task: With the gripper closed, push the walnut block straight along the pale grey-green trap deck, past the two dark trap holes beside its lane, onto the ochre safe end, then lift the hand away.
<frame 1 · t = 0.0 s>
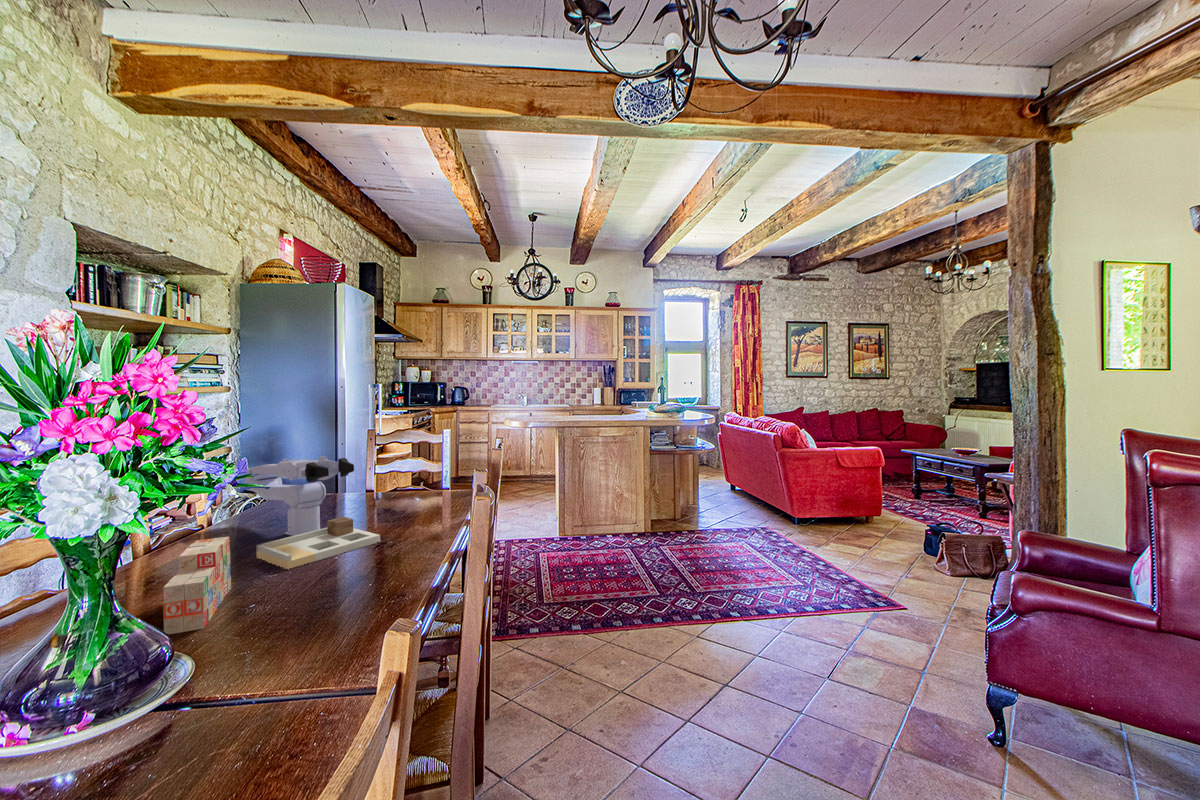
hand: (340, 469, 147), 22 cm above the table, tool horizontal, fingers open, 7 cm apart
walnut block: (340, 533, 151), point 2 cm above the table, touching trap deck
trap deck: (321, 549, 142), on the table
stack of blocks: (201, 610, 105), on the table
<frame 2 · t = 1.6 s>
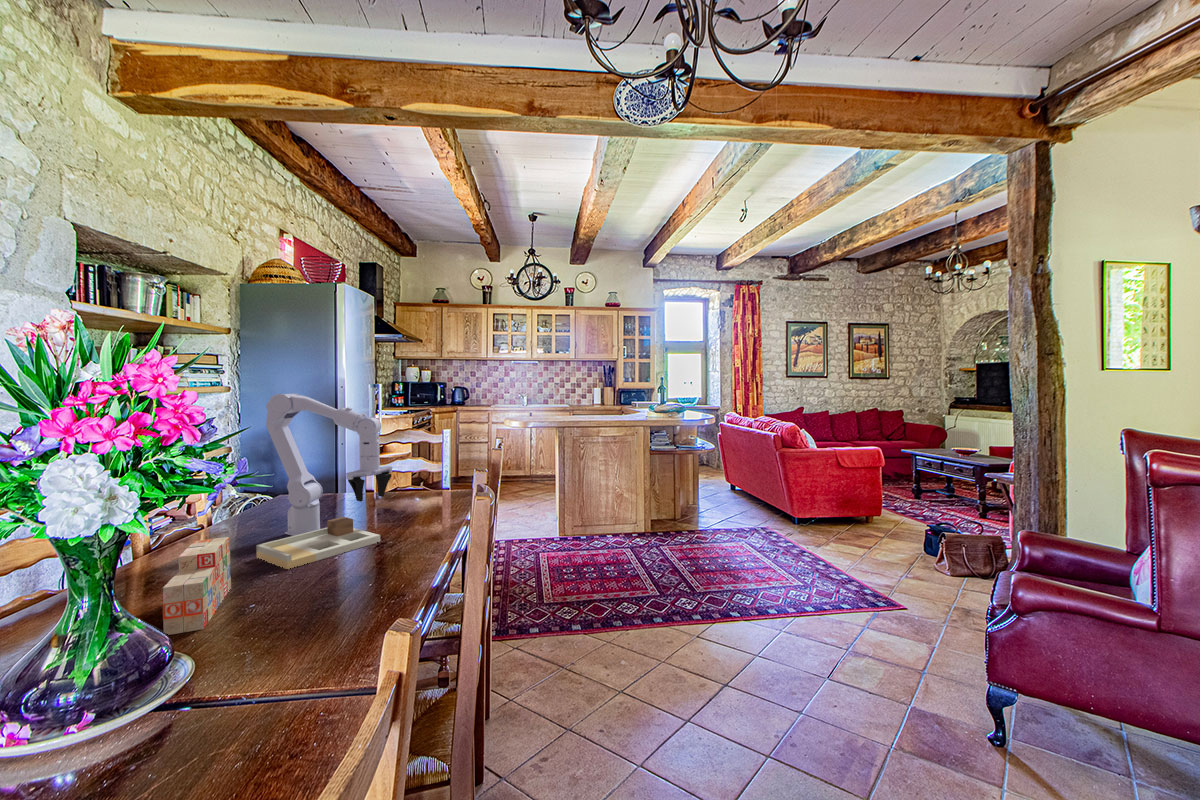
hand: (370, 498, 159), 10 cm above the table, tool pointing down, fingers open, 7 cm apart
nothing on the table moved.
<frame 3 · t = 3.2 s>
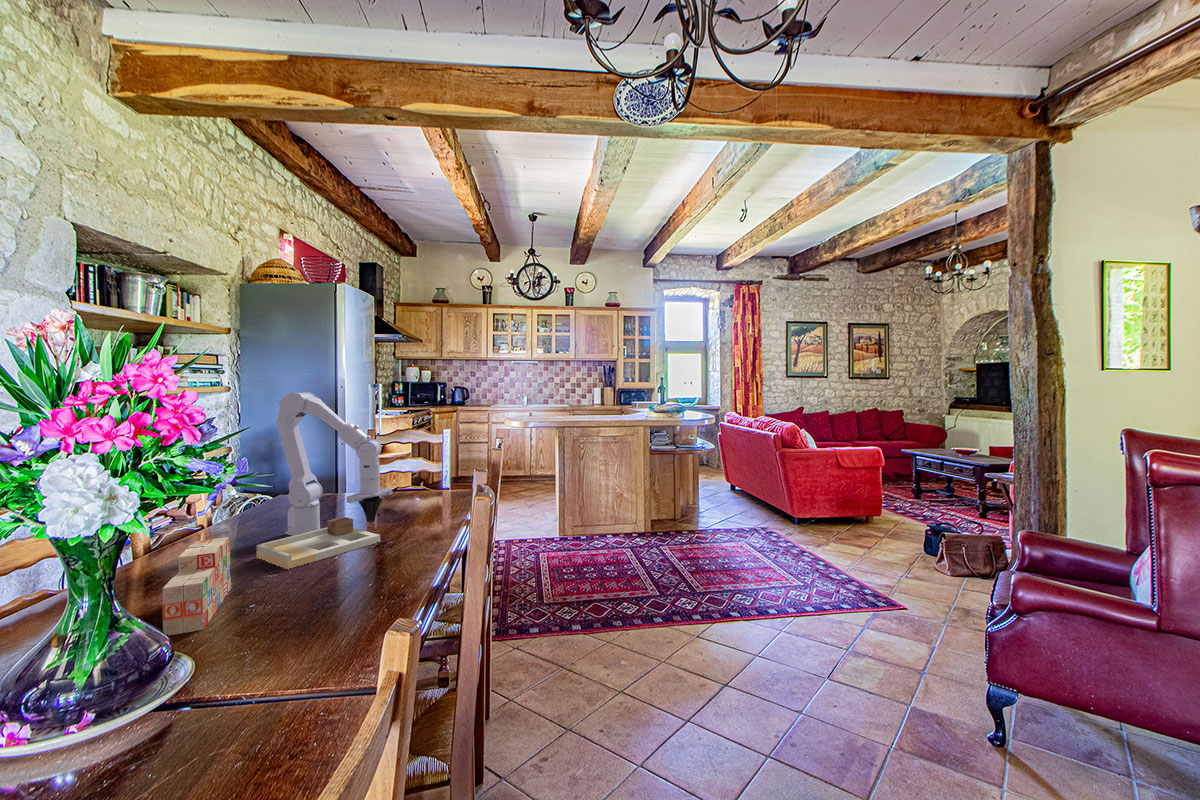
hand: (370, 521, 159), 3 cm above the table, tool pointing down, fingers closed
nothing on the table moved.
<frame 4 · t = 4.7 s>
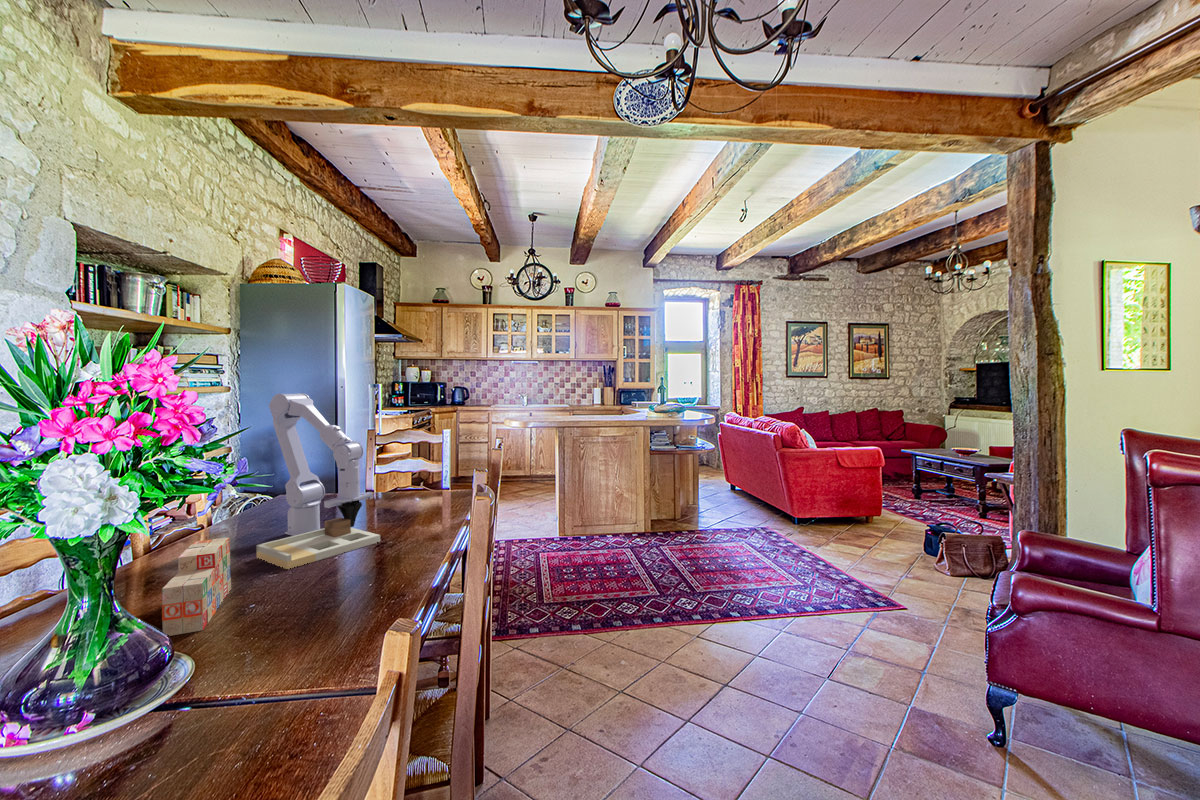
hand: (350, 526, 154), 3 cm above the table, tool pointing down, fingers closed
walnut block: (337, 533, 150), point 2 cm above the table, touching gripper, trap deck
everything else where it was.
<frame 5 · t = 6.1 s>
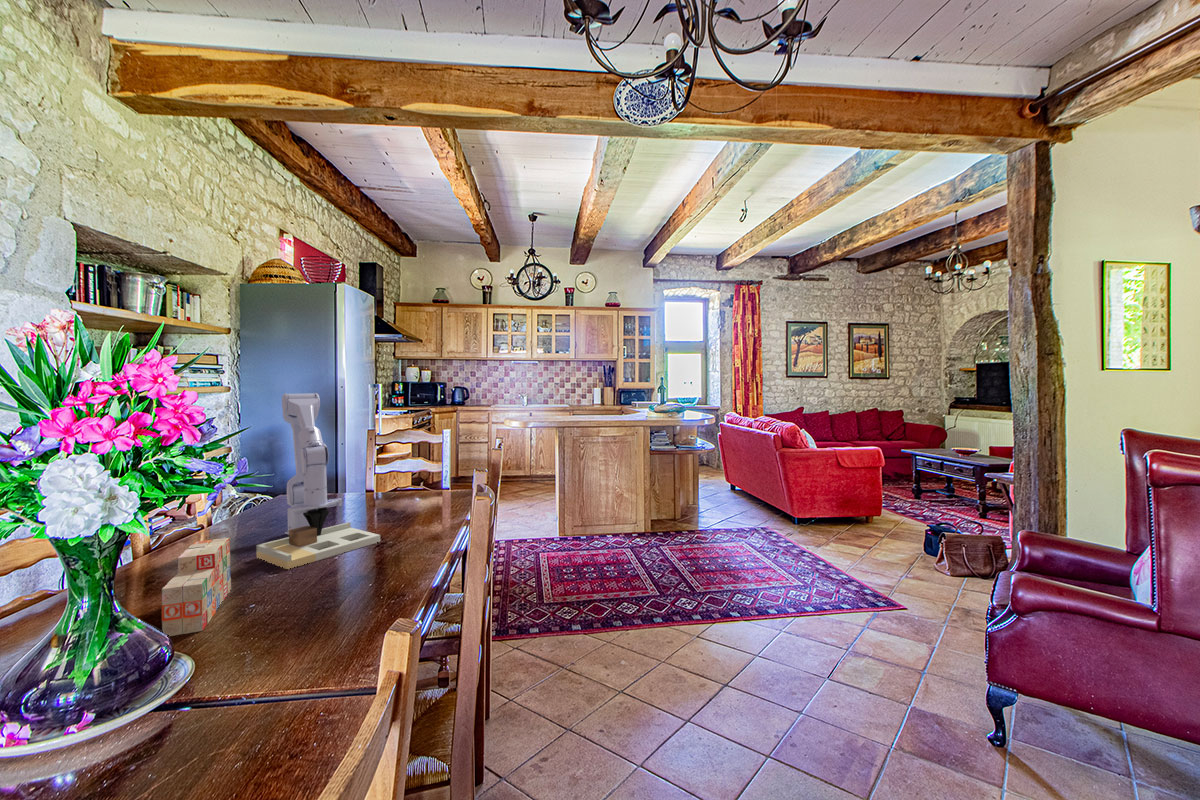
hand: (316, 535, 145), 3 cm above the table, tool pointing down, fingers closed
walnut block: (303, 543, 142), point 2 cm above the table, touching gripper, trap deck
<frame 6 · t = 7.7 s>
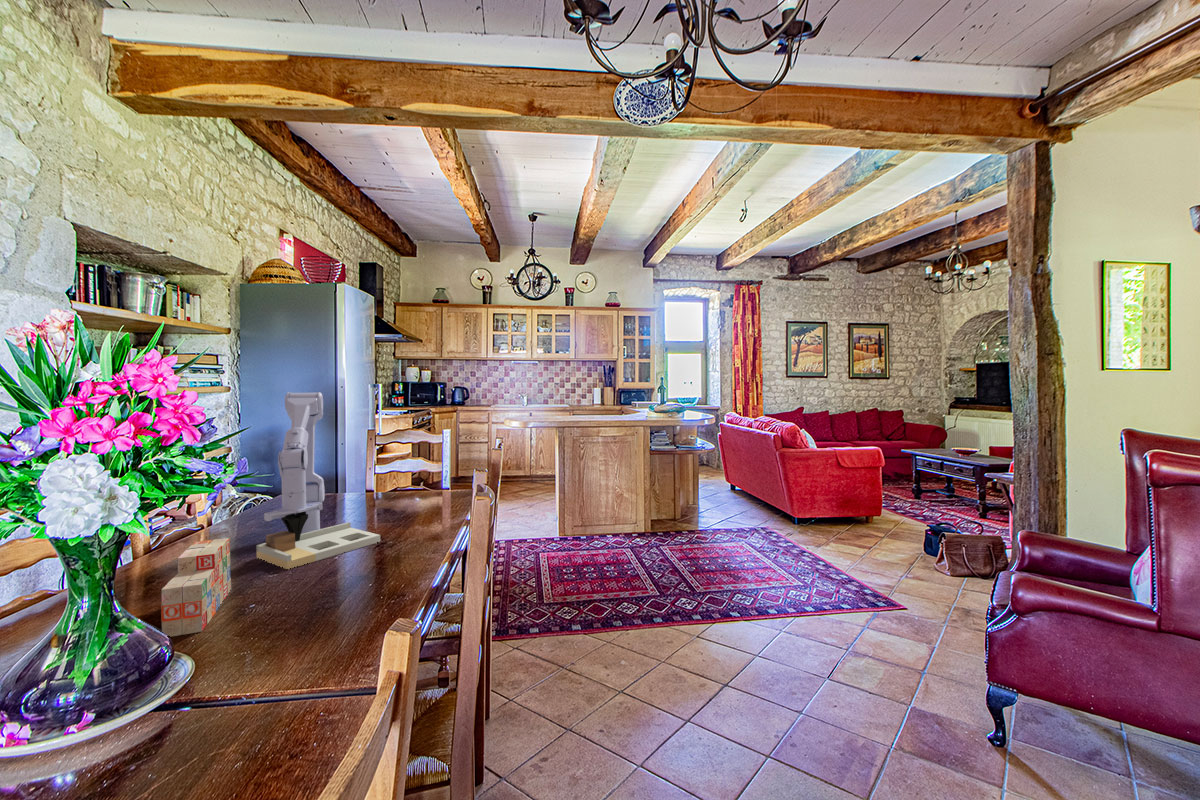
hand: (295, 540, 140), 3 cm above the table, tool pointing down, fingers closed
walnut block: (280, 549, 137), point 2 cm above the table, touching gripper, trap deck
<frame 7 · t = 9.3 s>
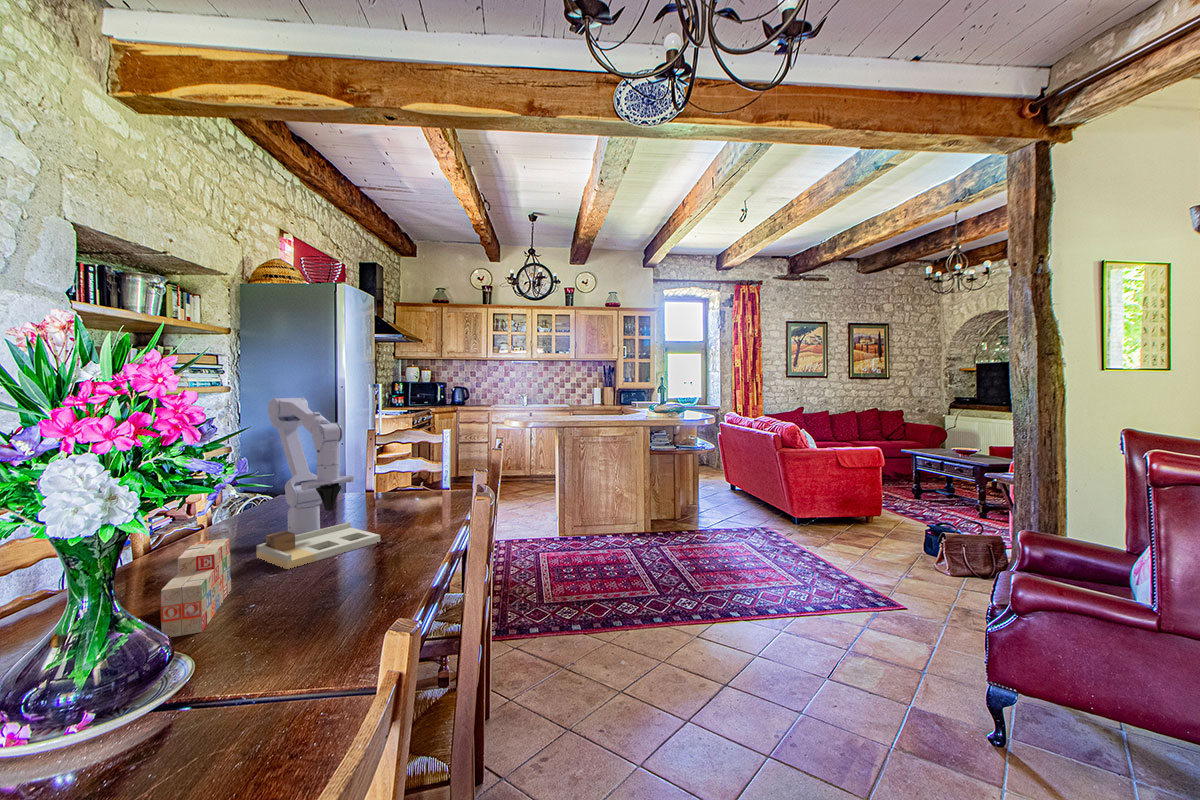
hand: (329, 510, 149), 9 cm above the table, tool pointing down, fingers closed
walnut block: (280, 549, 137), point 2 cm above the table, touching trap deck
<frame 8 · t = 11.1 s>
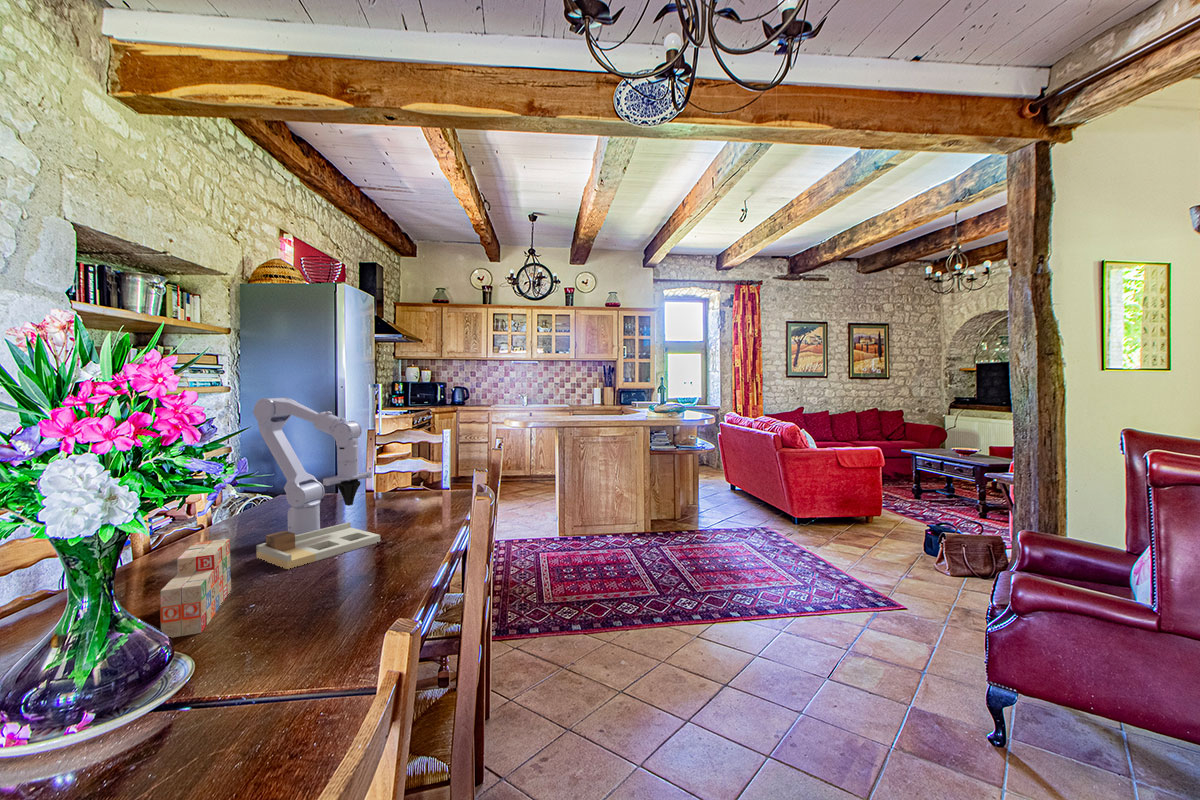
hand: (348, 504, 155), 9 cm above the table, tool pointing down, fingers closed
at the end: walnut block 0.2 cm from the target spot, point 2.0 cm above the table; walnut block tilted 0° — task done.
